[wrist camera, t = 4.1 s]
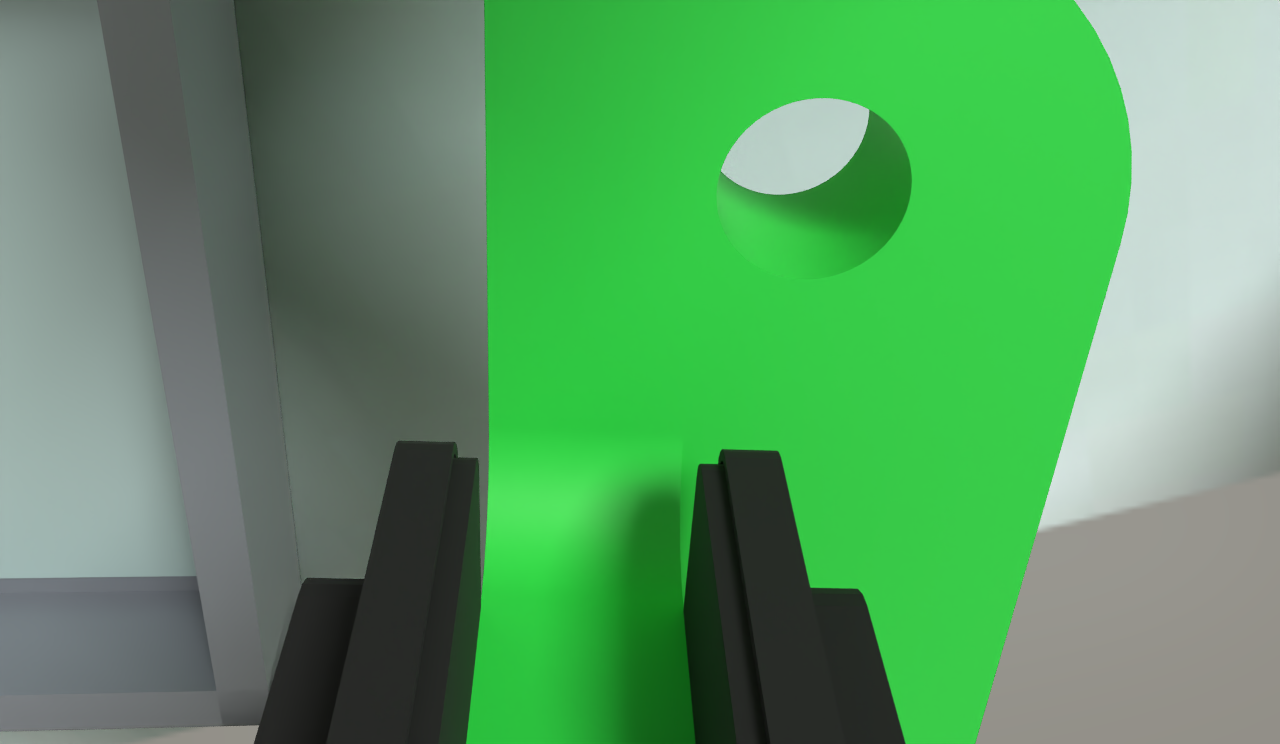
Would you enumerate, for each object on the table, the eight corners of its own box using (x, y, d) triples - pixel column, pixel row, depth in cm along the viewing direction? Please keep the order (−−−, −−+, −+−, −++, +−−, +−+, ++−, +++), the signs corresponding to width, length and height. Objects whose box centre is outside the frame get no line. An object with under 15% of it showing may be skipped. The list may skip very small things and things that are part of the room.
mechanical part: (910, 734, 18) (1104, 1410, 11) (503, 729, 18) (448, 1424, 11) (1125, -131, 12) (1856, 224, 5) (498, -166, 11) (364, 165, 5)
